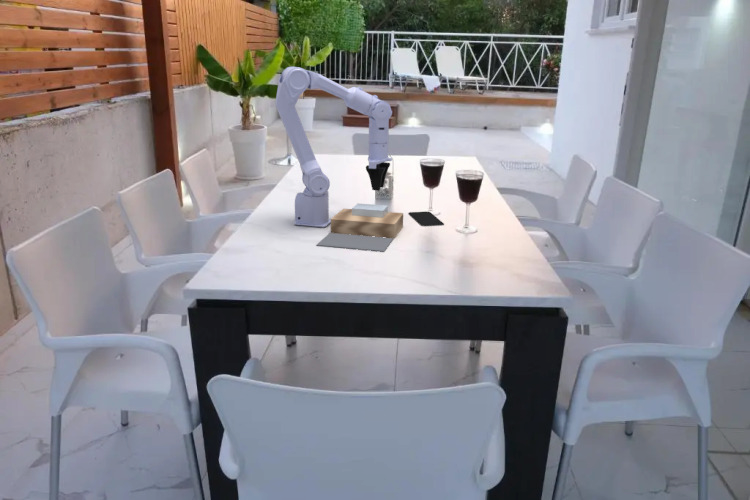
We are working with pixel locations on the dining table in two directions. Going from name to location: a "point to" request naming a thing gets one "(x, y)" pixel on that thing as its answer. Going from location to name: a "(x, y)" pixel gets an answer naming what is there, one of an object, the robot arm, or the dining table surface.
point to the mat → (355, 242)
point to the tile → (370, 210)
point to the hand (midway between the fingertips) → (377, 188)
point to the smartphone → (425, 219)
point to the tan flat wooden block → (367, 224)
